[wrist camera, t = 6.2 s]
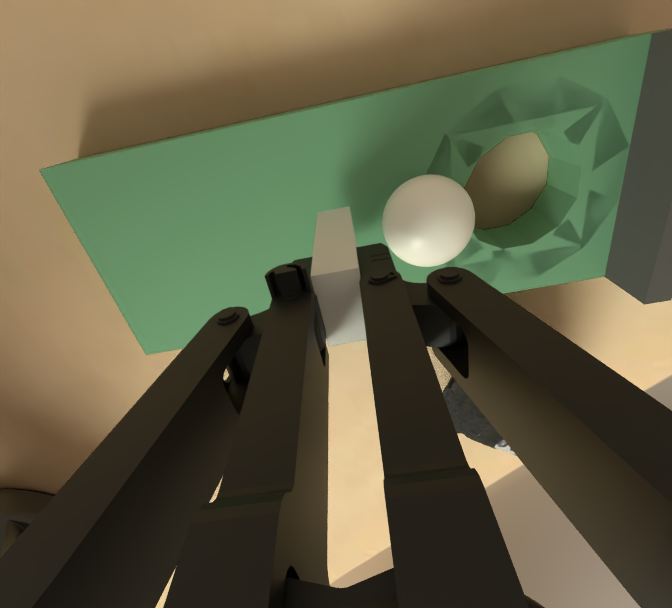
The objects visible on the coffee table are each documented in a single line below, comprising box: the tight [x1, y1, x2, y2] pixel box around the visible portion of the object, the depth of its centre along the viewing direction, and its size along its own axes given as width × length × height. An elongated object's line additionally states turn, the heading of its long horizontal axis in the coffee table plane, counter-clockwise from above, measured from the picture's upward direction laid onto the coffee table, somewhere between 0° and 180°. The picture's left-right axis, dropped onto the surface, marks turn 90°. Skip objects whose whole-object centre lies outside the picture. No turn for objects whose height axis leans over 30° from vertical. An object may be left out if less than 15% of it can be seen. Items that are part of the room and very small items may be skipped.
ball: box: [382, 174, 475, 267], centre depth 17 cm, size 4×4×4 cm
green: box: [39, 28, 672, 355], centre depth 19 cm, size 28×11×6 cm, turn 101°
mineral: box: [443, 377, 517, 456], centre depth 25 cm, size 10×9×6 cm
